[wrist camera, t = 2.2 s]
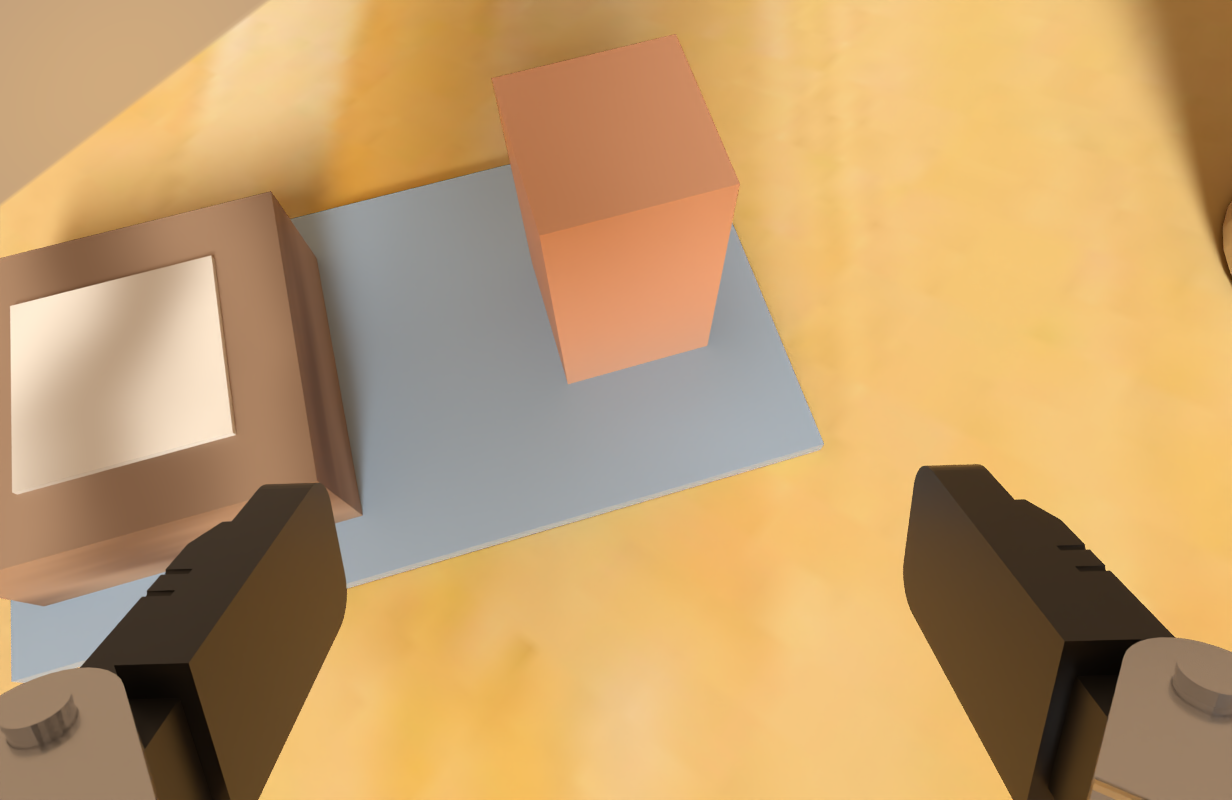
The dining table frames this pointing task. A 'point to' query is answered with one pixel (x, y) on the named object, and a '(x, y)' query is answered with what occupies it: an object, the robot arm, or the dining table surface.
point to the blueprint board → (489, 400)
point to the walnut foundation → (159, 393)
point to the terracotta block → (620, 202)
